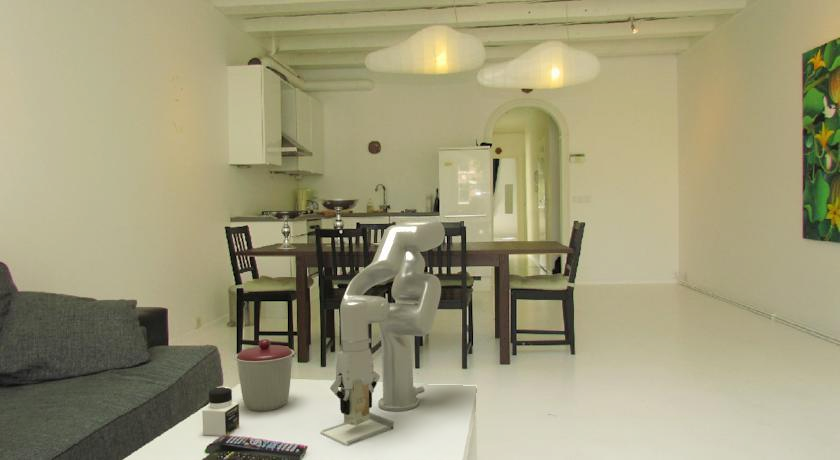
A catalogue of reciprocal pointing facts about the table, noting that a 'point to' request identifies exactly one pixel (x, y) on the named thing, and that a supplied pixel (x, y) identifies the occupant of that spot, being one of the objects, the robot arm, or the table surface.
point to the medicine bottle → (220, 413)
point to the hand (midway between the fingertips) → (356, 409)
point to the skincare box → (358, 404)
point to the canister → (265, 375)
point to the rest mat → (358, 430)
